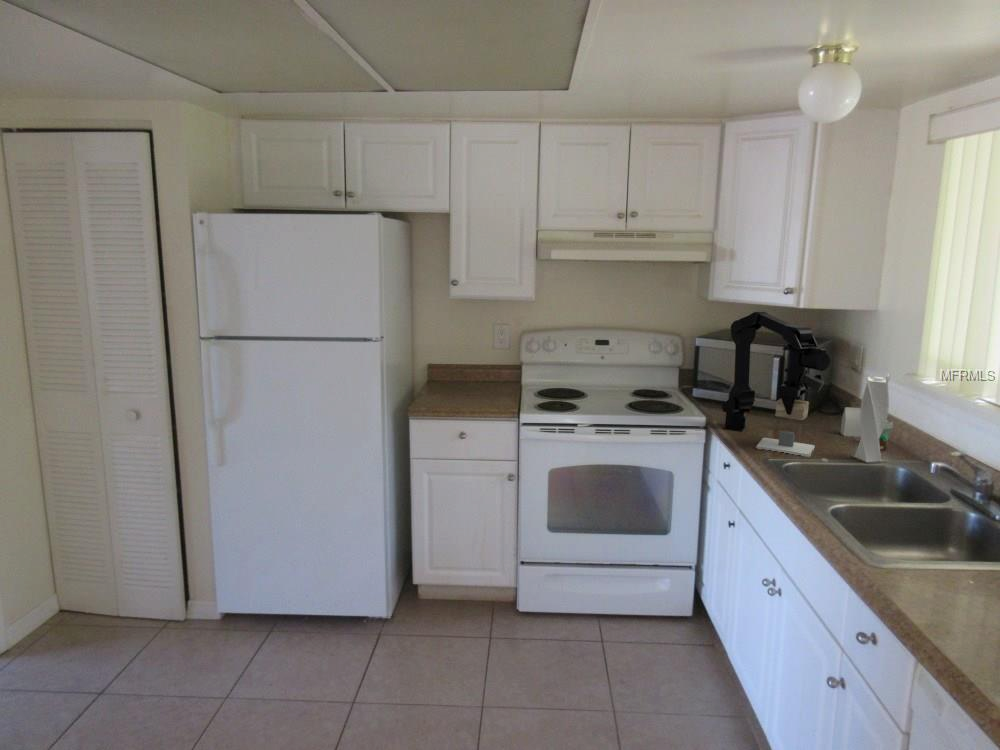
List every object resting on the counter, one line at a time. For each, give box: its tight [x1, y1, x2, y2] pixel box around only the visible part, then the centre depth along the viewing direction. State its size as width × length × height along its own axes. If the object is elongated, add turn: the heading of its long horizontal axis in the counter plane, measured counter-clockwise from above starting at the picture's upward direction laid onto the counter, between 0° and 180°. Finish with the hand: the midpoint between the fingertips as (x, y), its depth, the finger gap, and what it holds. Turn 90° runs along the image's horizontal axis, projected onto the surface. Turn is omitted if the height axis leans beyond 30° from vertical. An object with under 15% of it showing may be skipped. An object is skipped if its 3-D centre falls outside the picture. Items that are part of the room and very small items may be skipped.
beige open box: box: [774, 398, 810, 421], centre depth 216 cm, size 6×8×5 cm
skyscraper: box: [850, 373, 890, 464], centre depth 204 cm, size 8×8×28 cm
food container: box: [879, 417, 894, 452], centre depth 220 cm, size 12×6×10 cm, turn 168°
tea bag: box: [839, 406, 861, 438], centre depth 235 cm, size 4×7×10 cm, turn 80°
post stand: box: [756, 430, 816, 458], centre depth 217 cm, size 16×12×6 cm
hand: (791, 412), depth 216 cm, fingers closed on beige open box, 6 cm apart
